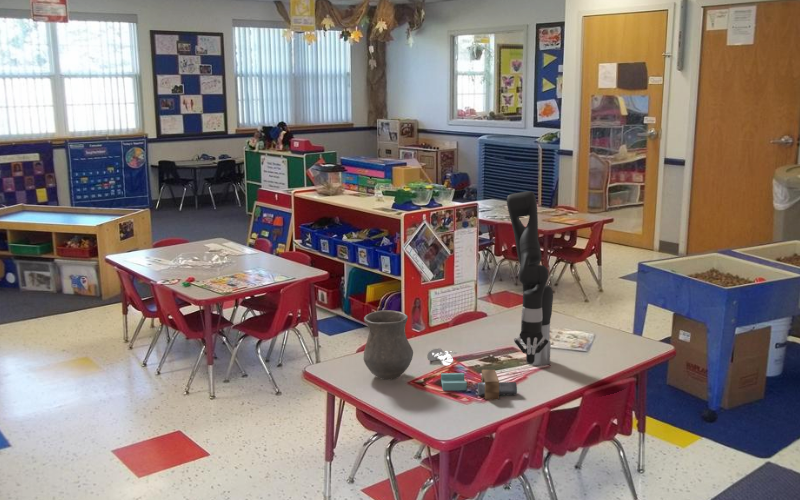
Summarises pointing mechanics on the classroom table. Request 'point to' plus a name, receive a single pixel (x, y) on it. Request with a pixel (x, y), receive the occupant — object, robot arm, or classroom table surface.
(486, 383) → the brown notched block
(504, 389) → the axle
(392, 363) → the vase
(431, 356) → the figurine
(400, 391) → the classroom table surface
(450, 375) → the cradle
